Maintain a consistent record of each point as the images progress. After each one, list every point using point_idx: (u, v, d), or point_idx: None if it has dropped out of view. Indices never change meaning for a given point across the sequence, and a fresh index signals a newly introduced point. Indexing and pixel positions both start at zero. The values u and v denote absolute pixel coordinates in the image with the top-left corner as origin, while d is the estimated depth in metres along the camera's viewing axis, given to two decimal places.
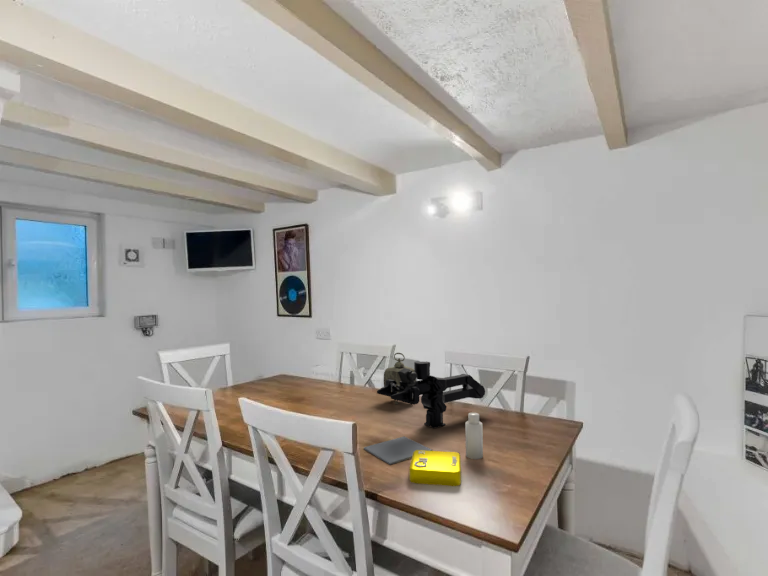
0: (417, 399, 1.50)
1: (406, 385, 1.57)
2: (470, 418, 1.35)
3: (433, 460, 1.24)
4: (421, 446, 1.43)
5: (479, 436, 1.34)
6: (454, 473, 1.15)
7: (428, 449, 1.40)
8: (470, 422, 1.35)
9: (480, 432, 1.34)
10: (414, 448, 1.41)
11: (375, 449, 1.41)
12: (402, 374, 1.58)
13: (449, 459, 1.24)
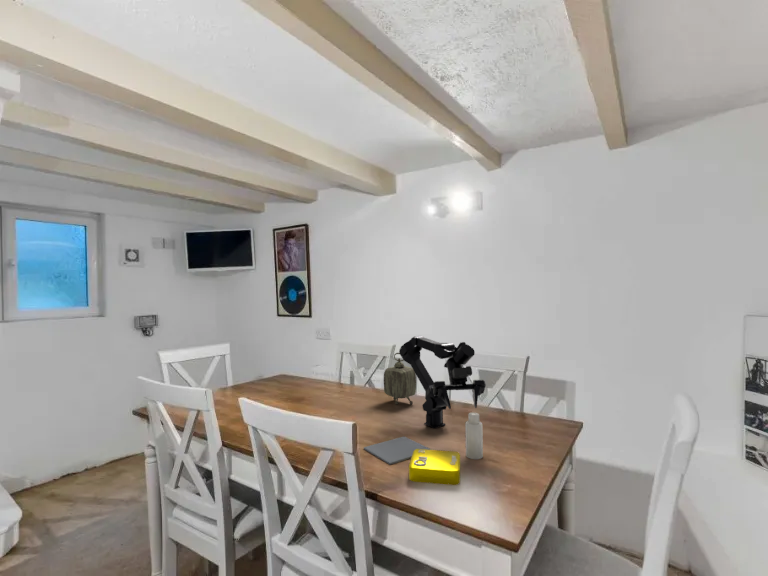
0: None
1: (463, 381, 1.49)
2: (470, 418, 1.35)
3: (432, 459, 1.24)
4: (421, 446, 1.43)
5: (479, 436, 1.34)
6: (453, 472, 1.16)
7: (428, 449, 1.40)
8: (470, 422, 1.35)
9: (480, 432, 1.34)
10: (414, 448, 1.41)
11: (375, 449, 1.41)
12: (461, 376, 1.46)
13: (449, 458, 1.25)
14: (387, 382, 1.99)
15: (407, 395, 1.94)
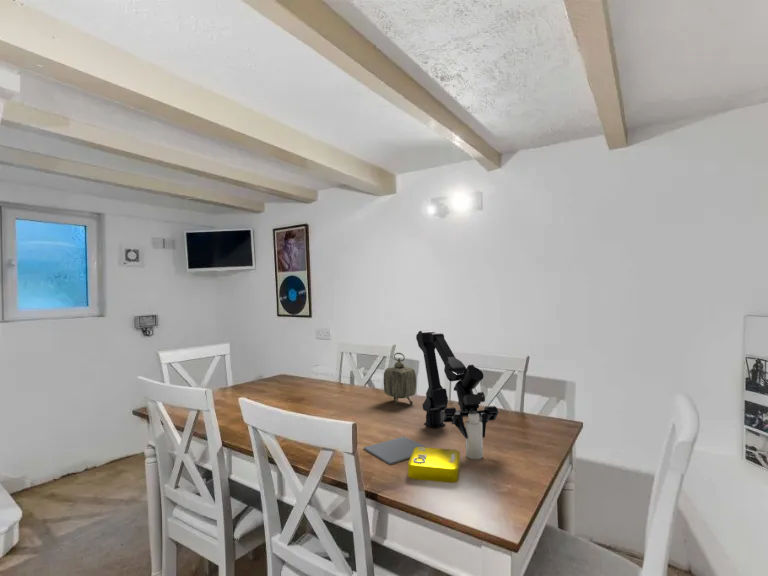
0: None
1: (475, 407, 1.40)
2: (470, 418, 1.35)
3: (432, 457, 1.26)
4: (421, 446, 1.43)
5: (479, 436, 1.34)
6: (451, 469, 1.17)
7: None
8: (470, 422, 1.35)
9: (480, 432, 1.34)
10: (414, 448, 1.41)
11: (375, 449, 1.41)
12: (474, 403, 1.36)
13: (448, 456, 1.26)
14: (387, 382, 1.99)
15: (407, 395, 1.94)
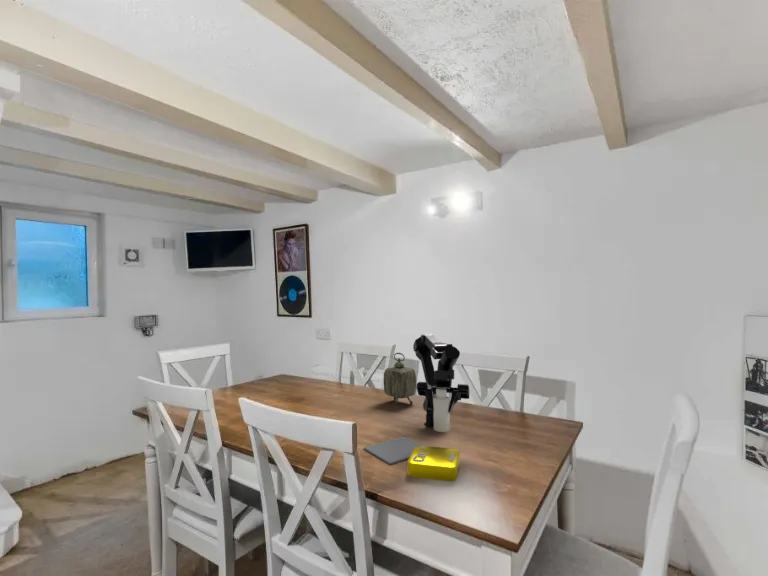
0: (469, 392, 1.45)
1: (447, 384, 1.46)
2: (436, 392, 1.42)
3: (431, 455, 1.27)
4: None
5: (443, 410, 1.40)
6: (450, 468, 1.18)
7: None
8: (436, 396, 1.42)
9: (444, 406, 1.40)
10: None
11: (375, 449, 1.41)
12: (441, 379, 1.43)
13: (448, 455, 1.27)
14: (387, 382, 1.99)
15: (407, 395, 1.94)
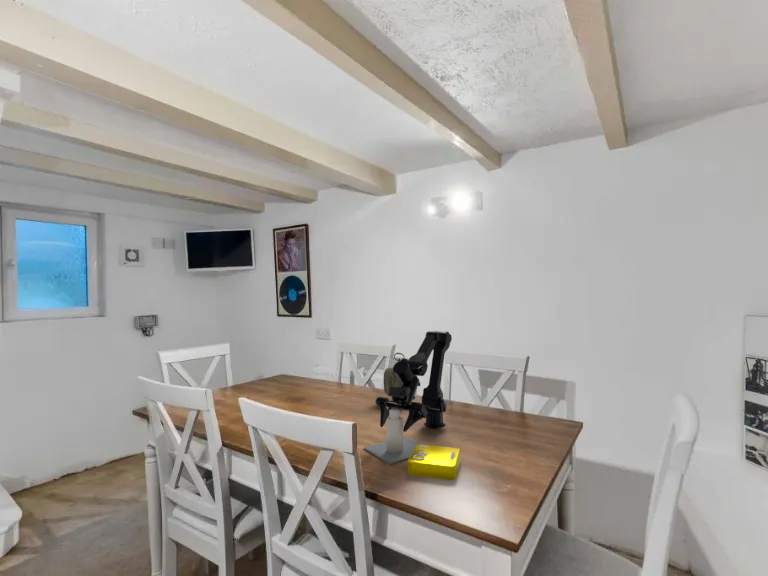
0: (425, 412, 1.39)
1: (403, 401, 1.42)
2: (389, 413, 1.40)
3: (432, 454, 1.28)
4: None
5: (393, 431, 1.37)
6: (450, 467, 1.19)
7: None
8: (389, 417, 1.40)
9: (394, 428, 1.37)
10: None
11: (375, 449, 1.41)
12: (394, 395, 1.40)
13: (448, 454, 1.28)
14: (387, 382, 1.99)
15: None
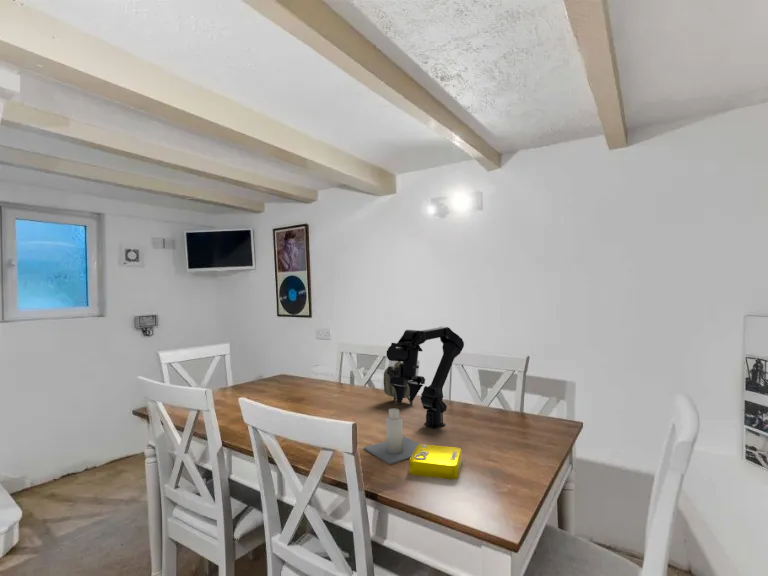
0: (398, 381, 1.49)
1: (400, 376, 1.58)
2: None
3: (433, 454, 1.28)
4: None
5: (392, 431, 1.37)
6: (451, 466, 1.19)
7: None
8: None
9: (394, 428, 1.37)
10: (414, 448, 1.41)
11: (375, 449, 1.41)
12: None
13: (450, 454, 1.28)
14: (387, 382, 1.99)
15: (407, 395, 1.94)
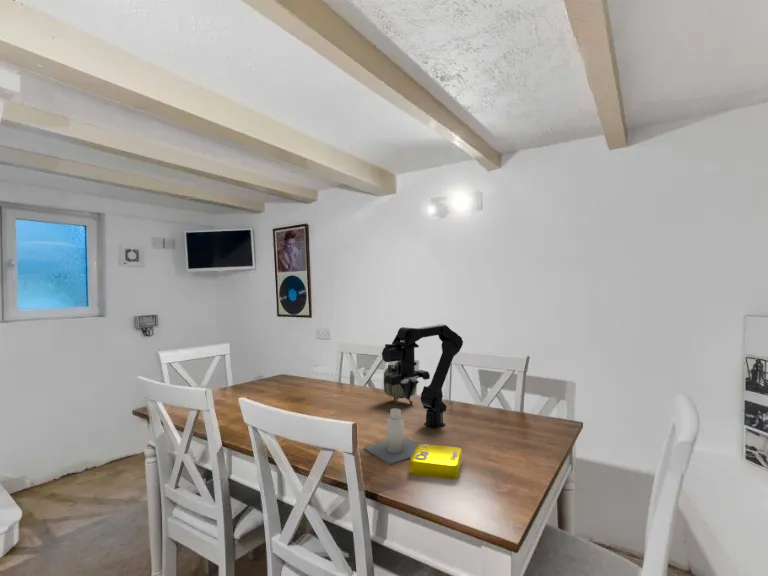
0: (390, 380, 1.53)
1: None
2: (390, 412, 1.40)
3: (434, 454, 1.28)
4: None
5: (393, 431, 1.37)
6: (452, 466, 1.20)
7: None
8: (390, 416, 1.40)
9: (395, 428, 1.37)
10: (414, 448, 1.41)
11: (375, 449, 1.41)
12: None
13: (450, 454, 1.28)
14: None
15: None
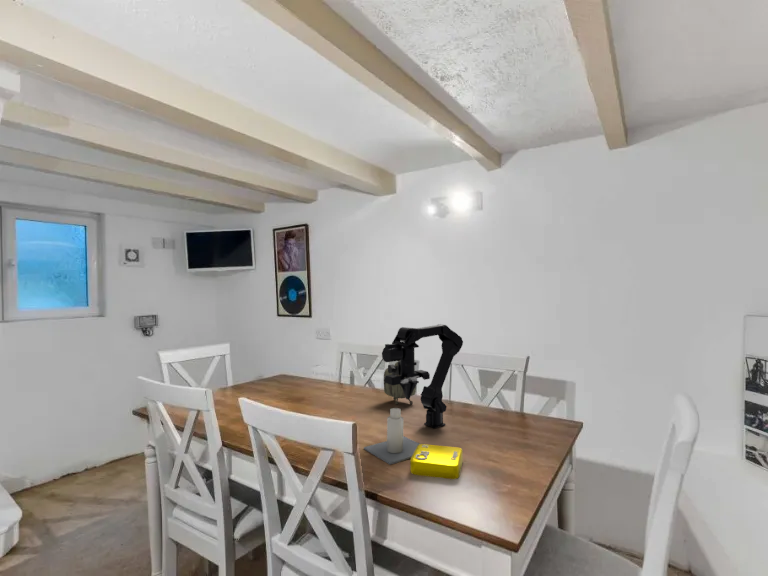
0: (390, 380, 1.53)
1: None
2: (390, 412, 1.40)
3: (434, 454, 1.28)
4: None
5: (393, 430, 1.37)
6: (452, 466, 1.20)
7: None
8: (390, 416, 1.40)
9: (394, 427, 1.37)
10: (414, 448, 1.41)
11: (375, 449, 1.41)
12: None
13: (450, 454, 1.28)
14: None
15: None
